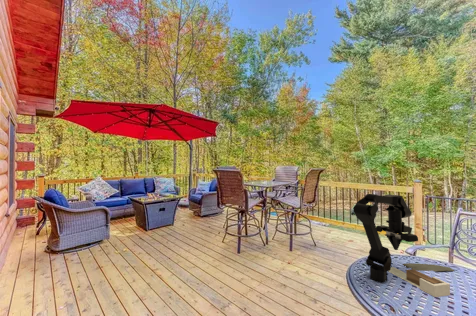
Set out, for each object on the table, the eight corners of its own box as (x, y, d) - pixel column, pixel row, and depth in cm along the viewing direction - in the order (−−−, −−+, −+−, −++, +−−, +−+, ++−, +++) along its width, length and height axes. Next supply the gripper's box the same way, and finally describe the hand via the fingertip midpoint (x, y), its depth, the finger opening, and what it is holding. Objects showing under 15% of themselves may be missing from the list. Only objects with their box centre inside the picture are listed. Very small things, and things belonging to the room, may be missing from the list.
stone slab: (401, 267, 118) (417, 273, 108) (400, 262, 118) (416, 268, 109) (438, 267, 119) (457, 273, 109) (437, 261, 120) (456, 267, 110)
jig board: (436, 299, 87) (435, 297, 87) (382, 269, 112) (382, 268, 112) (449, 297, 88) (449, 295, 88) (393, 268, 113) (393, 267, 113)
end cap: (435, 297, 87) (434, 285, 87) (419, 288, 93) (419, 278, 93) (450, 294, 88) (449, 283, 88) (434, 287, 94) (433, 276, 94)
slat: (434, 294, 89) (434, 283, 89) (406, 279, 101) (406, 269, 101) (442, 293, 90) (441, 282, 90) (413, 278, 101) (412, 269, 102)
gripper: (426, 223, 101) (428, 256, 101) (391, 214, 120) (392, 242, 119) (407, 224, 99) (409, 258, 98) (374, 215, 117) (375, 243, 117)
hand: (395, 249), depth 108 cm, fingers closed
